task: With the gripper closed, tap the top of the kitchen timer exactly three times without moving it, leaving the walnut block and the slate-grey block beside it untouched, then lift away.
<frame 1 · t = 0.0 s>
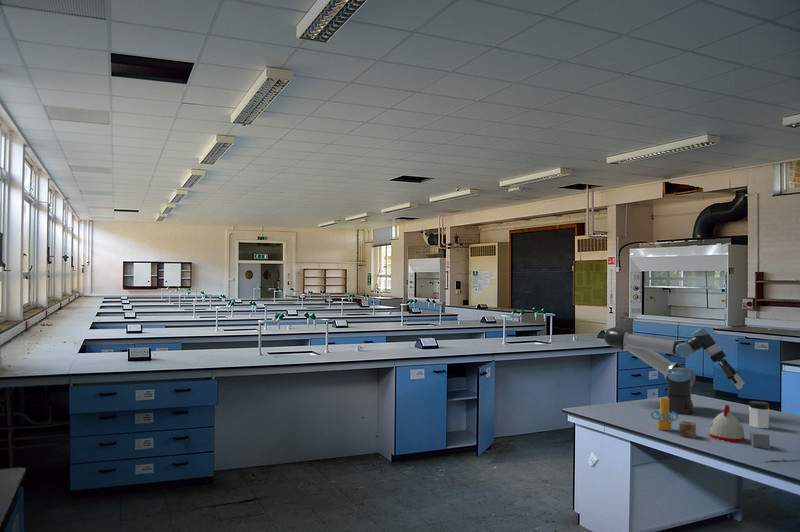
hand: (741, 386, 300), 15 cm above the countertop, tool tilted 35°, fingers open, 13 cm apart
slate block: (759, 446, 240), on the countertop
jar: (759, 426, 274), on the countertop
kitchen timer: (726, 438, 252), on the countertop
yellow column with loops: (664, 429, 266), on the countertop
walnut block: (687, 436, 255), on the countertop
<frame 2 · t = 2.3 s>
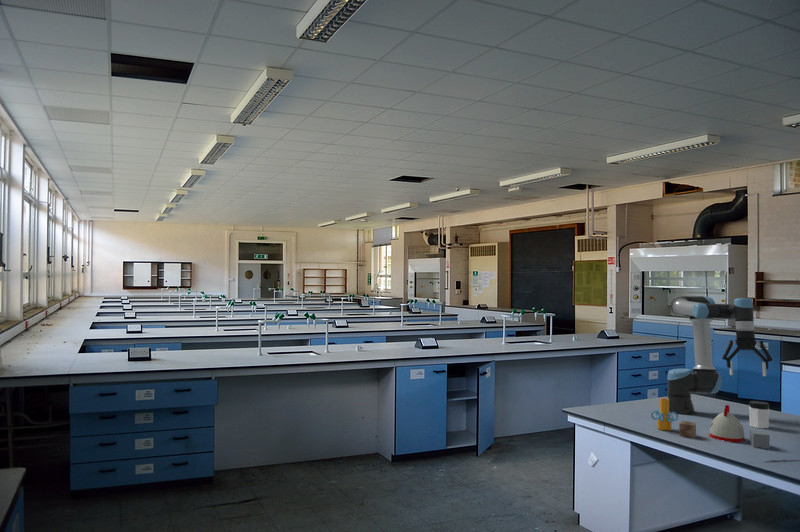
hand: (747, 375, 258), 28 cm above the countertop, tool pointing down, fingers open, 13 cm apart
nothing on the countertop moved.
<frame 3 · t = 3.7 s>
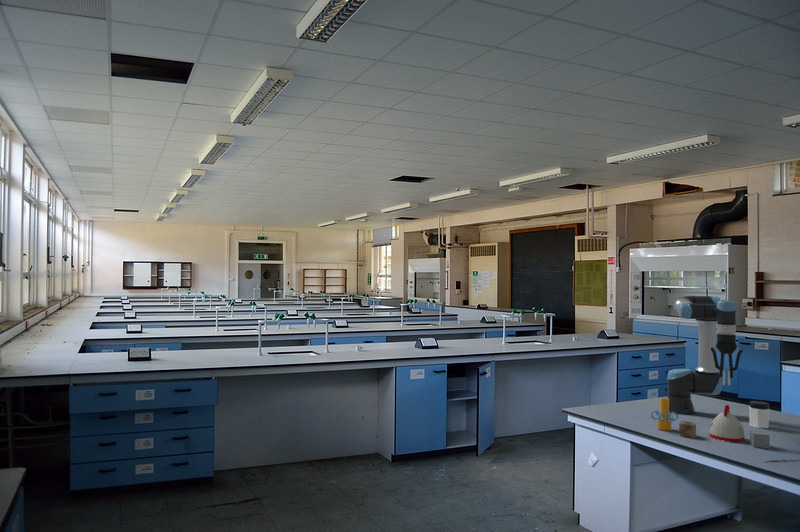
hand: (726, 384, 253), 24 cm above the countertop, tool pointing down, fingers closed
nothing on the countertop moved.
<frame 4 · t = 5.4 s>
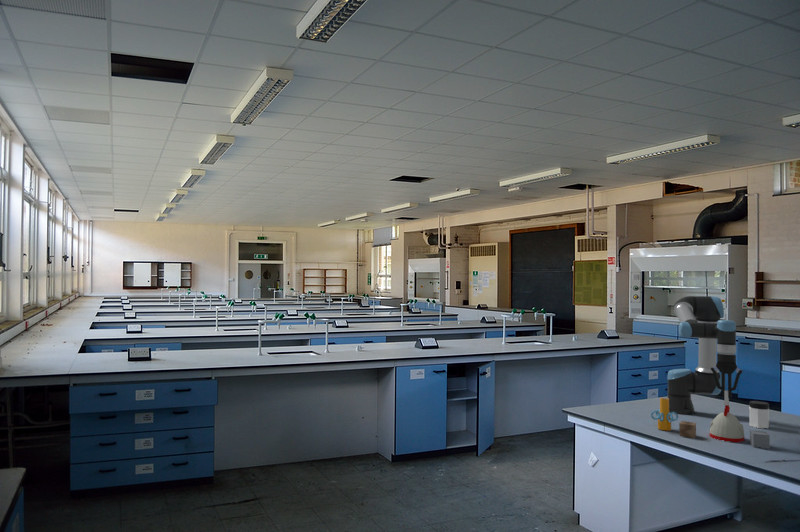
hand: (726, 404, 253), 15 cm above the countertop, tool pointing down, fingers closed
kitchen timer: (726, 438, 252), on the countertop, touching gripper
everything else where it was.
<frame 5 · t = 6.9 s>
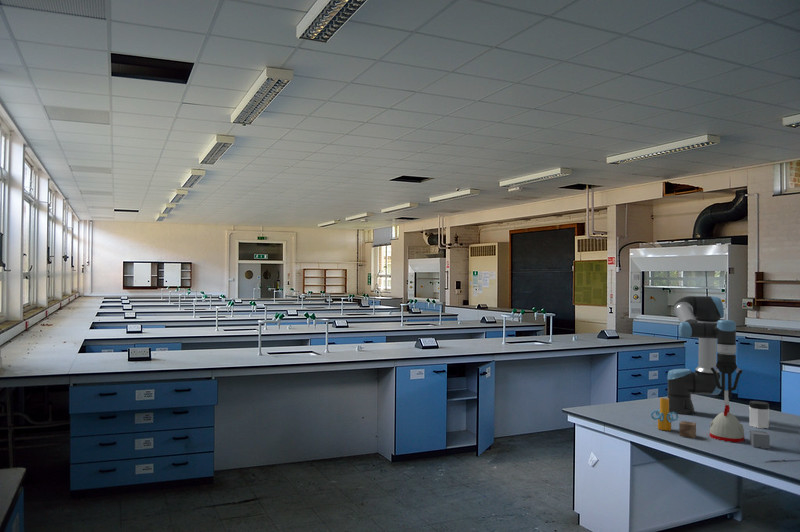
hand: (726, 404, 253), 15 cm above the countertop, tool pointing down, fingers closed
kitchen timer: (726, 438, 252), on the countertop
everything else where it was.
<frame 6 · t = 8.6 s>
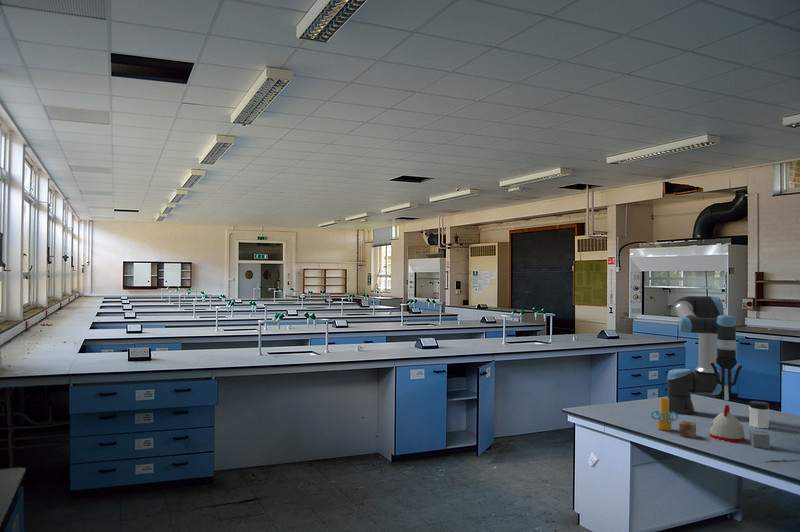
hand: (726, 399, 253), 17 cm above the countertop, tool pointing down, fingers closed
nothing on the countertop moved.
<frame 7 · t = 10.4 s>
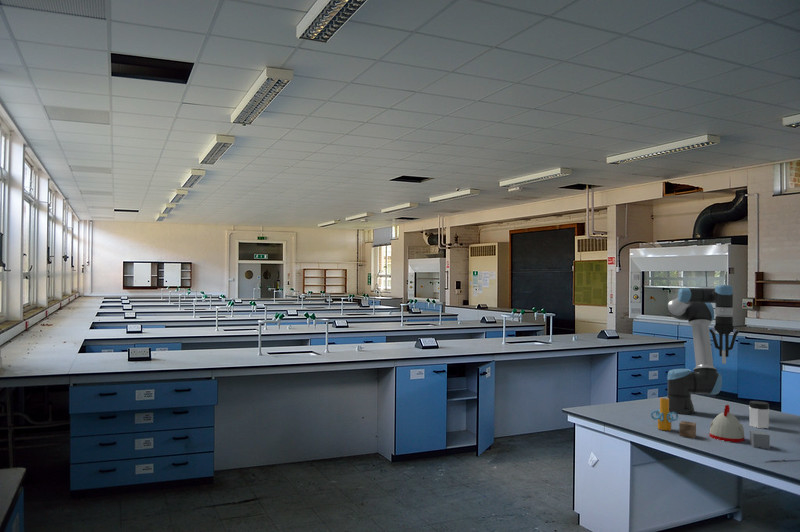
hand: (723, 363, 272), 32 cm above the countertop, tool pointing down, fingers closed
nothing on the countertop moved.
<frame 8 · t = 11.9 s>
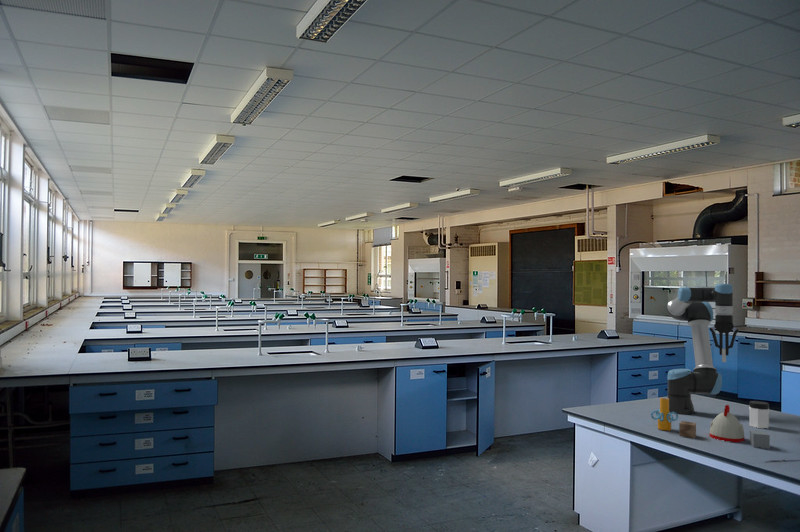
hand: (724, 361, 273), 32 cm above the countertop, tool pointing down, fingers closed
nothing on the countertop moved.
at the end: kitchen timer moved 0.3 cm from its start; kitchen timer tilted 0°; slate block moved 0.1 cm from its start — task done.
